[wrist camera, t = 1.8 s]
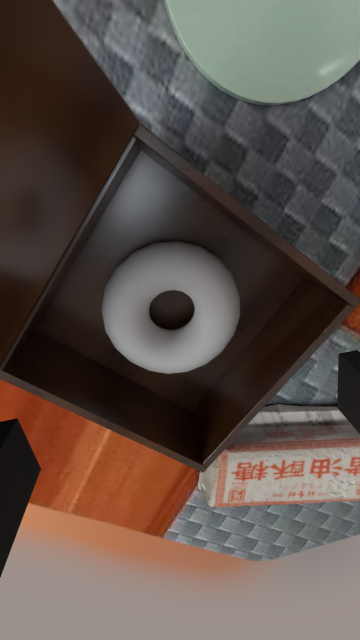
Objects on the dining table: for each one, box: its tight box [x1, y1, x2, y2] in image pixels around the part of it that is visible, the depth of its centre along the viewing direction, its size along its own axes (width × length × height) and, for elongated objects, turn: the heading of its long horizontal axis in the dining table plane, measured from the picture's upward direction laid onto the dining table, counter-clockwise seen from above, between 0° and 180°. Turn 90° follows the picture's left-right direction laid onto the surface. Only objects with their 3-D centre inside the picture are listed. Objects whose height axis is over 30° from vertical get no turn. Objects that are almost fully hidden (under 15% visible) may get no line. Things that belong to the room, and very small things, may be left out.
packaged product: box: [198, 404, 360, 507], centre depth 30 cm, size 18×5×10 cm
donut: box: [102, 241, 240, 374], centre depth 23 cm, size 10×4×10 cm
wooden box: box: [0, 123, 360, 473], centre depth 23 cm, size 16×16×7 cm
